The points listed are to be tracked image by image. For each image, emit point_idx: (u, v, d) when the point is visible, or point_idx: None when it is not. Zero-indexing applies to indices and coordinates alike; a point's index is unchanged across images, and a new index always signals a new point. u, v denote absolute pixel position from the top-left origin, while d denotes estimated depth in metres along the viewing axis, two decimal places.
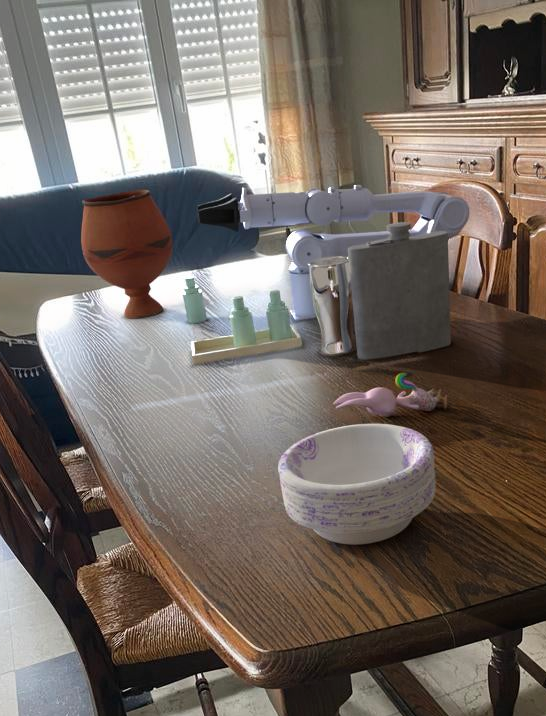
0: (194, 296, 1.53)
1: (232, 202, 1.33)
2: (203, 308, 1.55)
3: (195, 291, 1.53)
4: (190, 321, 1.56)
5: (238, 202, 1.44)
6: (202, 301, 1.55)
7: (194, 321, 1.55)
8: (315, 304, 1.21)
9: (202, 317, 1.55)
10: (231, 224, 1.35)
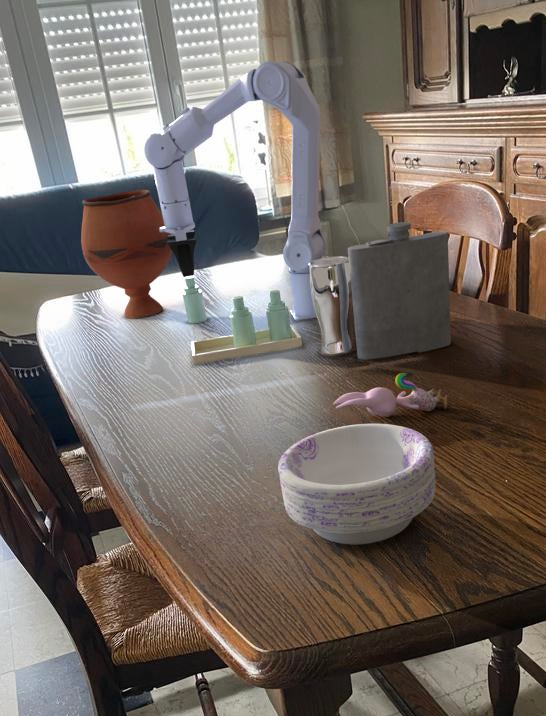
0: (194, 296, 1.53)
1: (170, 247, 1.44)
2: (203, 308, 1.55)
3: (195, 291, 1.53)
4: (190, 321, 1.56)
5: None
6: (202, 301, 1.55)
7: (194, 321, 1.55)
8: (315, 304, 1.21)
9: (202, 317, 1.55)
10: (190, 246, 1.45)
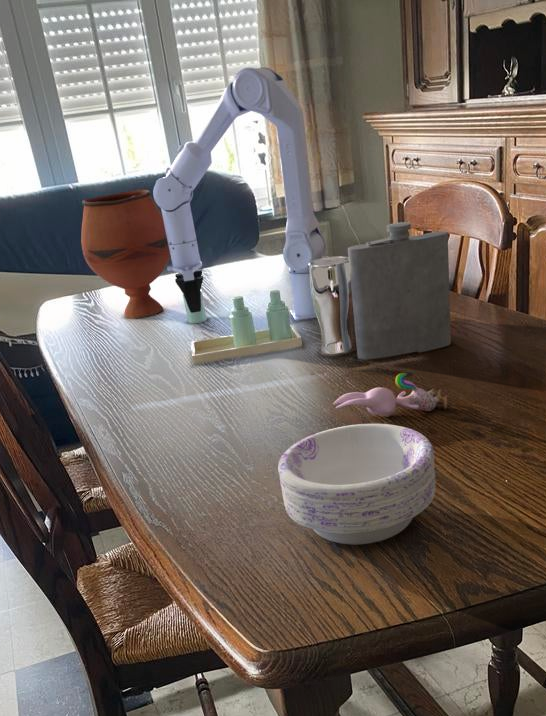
0: None
1: (178, 285, 1.49)
2: (203, 308, 1.55)
3: None
4: (190, 321, 1.56)
5: None
6: (202, 301, 1.55)
7: (194, 321, 1.55)
8: (315, 304, 1.21)
9: (202, 317, 1.55)
10: (197, 284, 1.50)
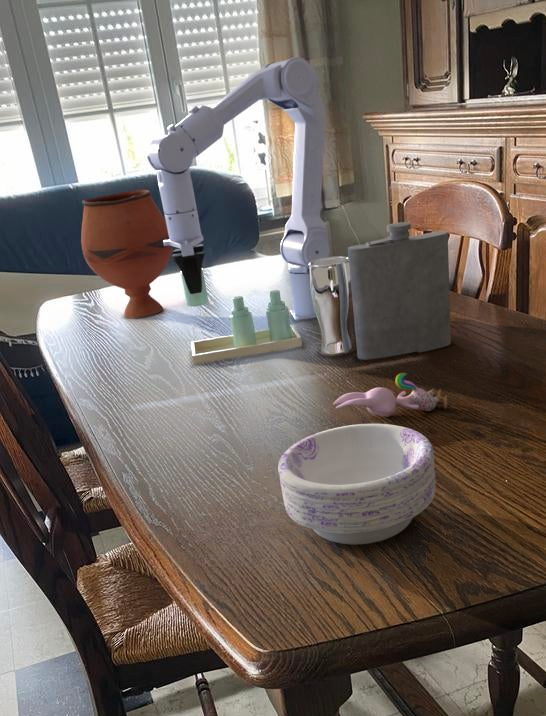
0: None
1: (176, 261, 1.30)
2: (204, 289, 1.36)
3: None
4: (189, 304, 1.36)
5: None
6: (203, 281, 1.35)
7: (194, 304, 1.36)
8: (315, 304, 1.21)
9: (202, 300, 1.36)
10: (197, 261, 1.30)
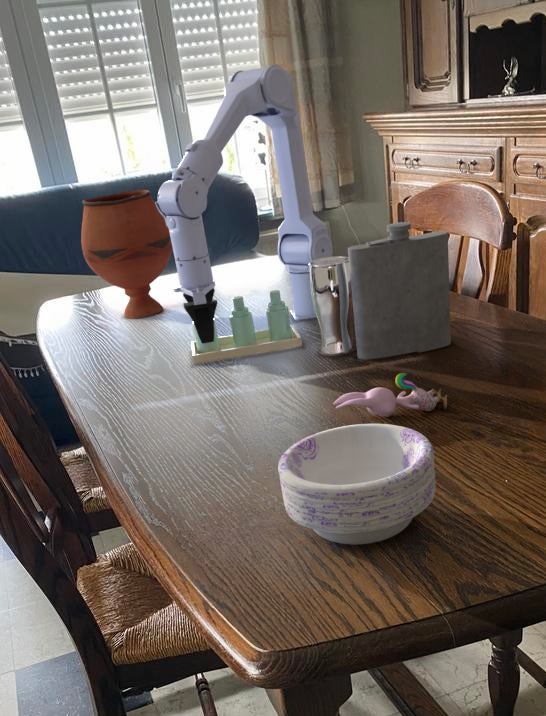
0: None
1: (187, 311, 1.24)
2: (216, 340, 1.31)
3: None
4: None
5: None
6: (215, 331, 1.31)
7: None
8: (315, 304, 1.21)
9: None
10: (210, 310, 1.24)
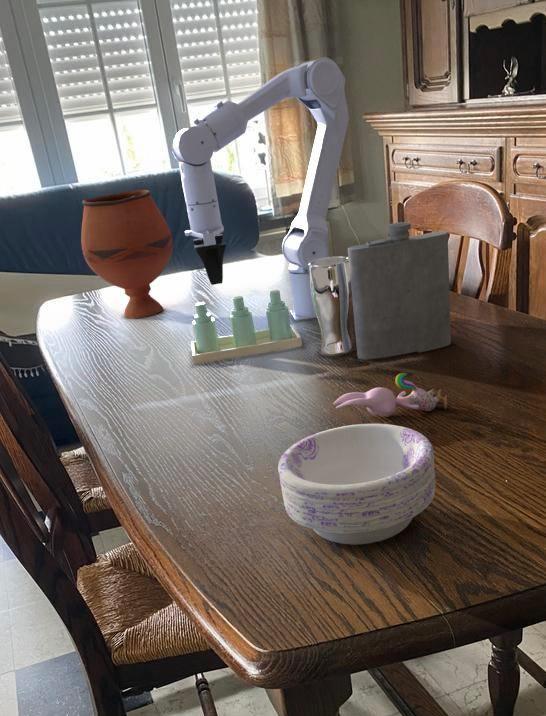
0: (206, 326, 1.29)
1: (198, 252, 1.32)
2: (216, 340, 1.31)
3: (207, 320, 1.29)
4: None
5: None
6: (215, 331, 1.31)
7: None
8: (315, 304, 1.21)
9: None
10: (219, 252, 1.33)
